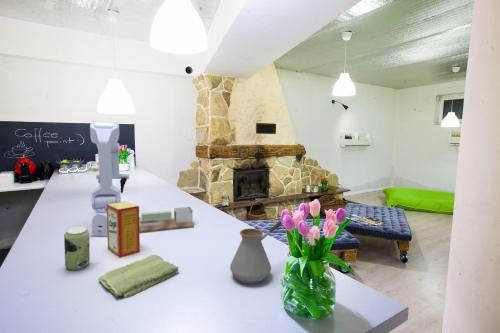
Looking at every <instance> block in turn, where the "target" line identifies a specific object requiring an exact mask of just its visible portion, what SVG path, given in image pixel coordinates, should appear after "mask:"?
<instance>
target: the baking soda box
mask: <svg viewBox="0 0 500 333" xmlns="http://www.w3.org/2000/svg"><path fill="white" fill-rule="evenodd" d="M139 217H140V205H137V204H134V203H132V202H130V201H127V200H126V201H121V202H118V203H112V204H107V234H108V236H107V250H108V251H110V252H111V253H112V254H113V255H115V256H117V258H119V259H122V258H123V257H127V256H130V255H131V256H132V255H135V254H137V253H140V251H141V246H140V237H141V236H140V233H139Z"/></svg>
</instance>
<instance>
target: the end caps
mask: <svg viewBox="0 0 500 333" xmlns="http://www.w3.org/2000/svg"><path fill="white" fill-rule="evenodd" d="M173 211H174V212H173V219H174V221H176V225H179V224H189V223H193V215H194V214H193V211H194V210H193V209H192V207H191V206H186V207H174V208H173ZM159 226H160V222H159V219H152V220H142V216H139V228H149V227H159Z"/></svg>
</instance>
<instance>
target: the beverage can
mask: <svg viewBox="0 0 500 333" xmlns="http://www.w3.org/2000/svg"><path fill="white" fill-rule="evenodd" d="M63 236H64V237H63V239H64V241H63V242H64V243H63V244H64V266H65V268H66V269H69V270H72V271H73V270H75V271H76V270H81V269H83V268H84V267H87V265H89V264H90V258H91V256H90V255H91V254H90V230H89V229H88V228H87V226H85V225H73V226H71V227H68V228H67V229H66V231H65V233H64V235H63Z"/></svg>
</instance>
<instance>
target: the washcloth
mask: <svg viewBox="0 0 500 333" xmlns="http://www.w3.org/2000/svg"><path fill="white" fill-rule="evenodd" d="M178 271H179V267H178V266H177V265H175V264H173V263H171V262H169V261H165V260H164V258H162V257H161V256H159V255H157V254H151V255H148V256H147V257H145V258H141V259H138V260H136V261H134V262H130V263H129V264H126V265H124V266H121V267H119V268H115V269H112V270H109V271H108V272H105V273H104V274H103V275H101V276H99V278H98V281H99V282H100V283H101V284H102V285H103V286H104V287H105V288H106V289H107V290H108V291H109V292H111V293H112V294H114V296H115V297H118V296H119V297H122V298H123V299H127V298H130V297H132V296H134V295H136V294H138V293H140V292H143V291H144V290H146V289H149V288H150V287H153V286H156V285H157V284H159V283H161V282H163V281H165V280H167V279H169V278H172V277H173V276H175V275H176V274H177V273H178Z"/></svg>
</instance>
